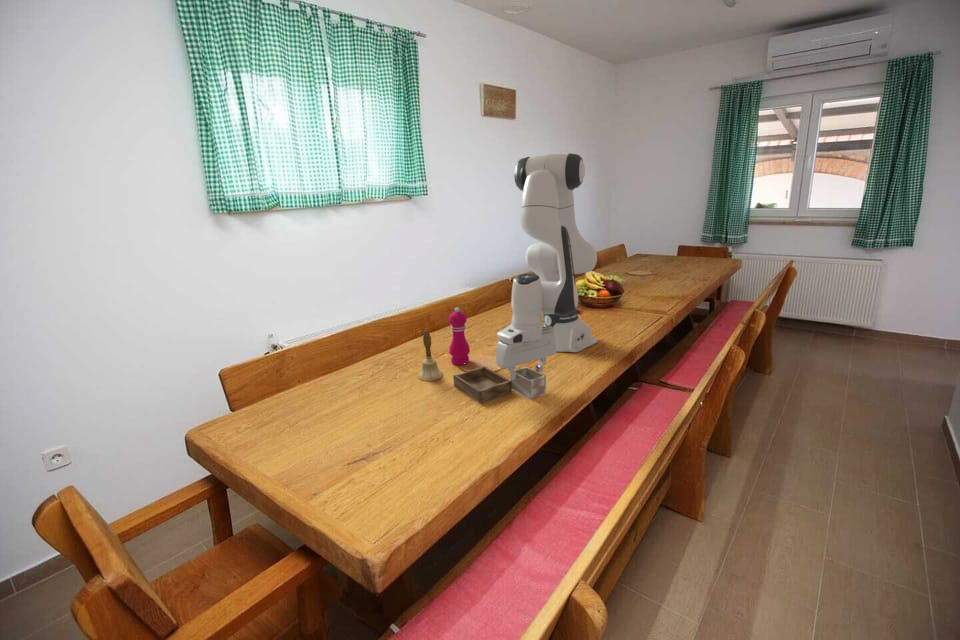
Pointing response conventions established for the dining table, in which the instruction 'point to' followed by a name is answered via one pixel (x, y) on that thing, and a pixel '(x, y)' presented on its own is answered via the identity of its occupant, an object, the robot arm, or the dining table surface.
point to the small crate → (529, 383)
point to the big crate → (482, 384)
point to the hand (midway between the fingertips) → (527, 375)
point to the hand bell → (429, 362)
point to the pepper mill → (458, 338)
